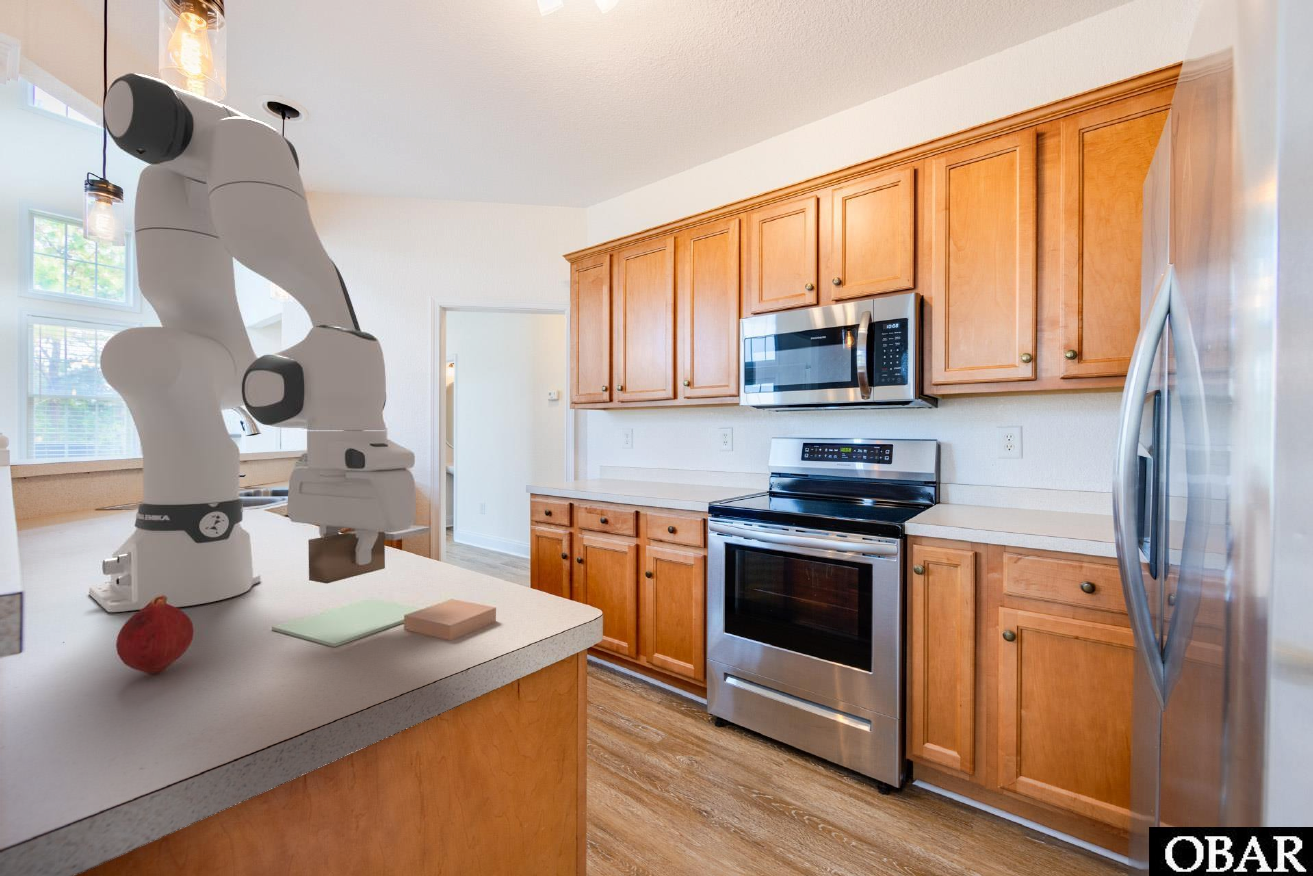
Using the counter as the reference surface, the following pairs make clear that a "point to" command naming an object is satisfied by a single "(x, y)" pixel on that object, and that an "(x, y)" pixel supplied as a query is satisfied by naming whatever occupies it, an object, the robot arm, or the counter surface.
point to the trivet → (347, 622)
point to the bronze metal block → (335, 554)
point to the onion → (154, 637)
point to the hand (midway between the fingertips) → (348, 561)
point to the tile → (450, 619)
